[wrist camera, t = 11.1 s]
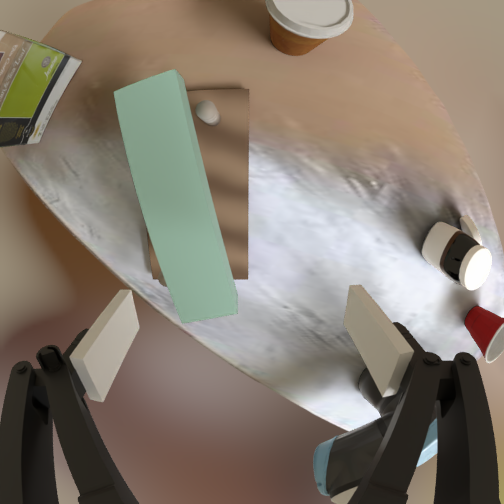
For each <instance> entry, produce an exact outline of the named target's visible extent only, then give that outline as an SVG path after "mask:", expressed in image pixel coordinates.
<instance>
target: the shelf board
mask: <svg viewBox="0 0 504 504" xmlns="http://www.w3.org/2000/svg"><path fill="white" fill-rule="evenodd" d="M114 97H115V103H116V108H117V114H118V119H119V123H120V128H121V133H122V137H123V142H124V146H125V150H126V155H127V159H128V163H129V167H130V171H131V174H132V178H133V182H134V186H135V189H136V193H137V196H138V200H139V203H140V207H141V210H142V213H143V217H144V220H145V223H146V226H147V229H148V232H149V236H150V239H151V242H152V245H153V248H154V251H155V253H156V256H157V259H158V262H159V265H160V268H161V271H162V273H163V276H164V279H165V281H166V284H167V287H168V289H169V292H170V295H171V297H172V300H173V302H174V305H175V307H176V310H177V312H178V315H179V317H180V320H181V322H182V324H183V323H189V322H195V321H201V320H206V319H212V318H217V317H222V316H228V315H233V314H238V294H237V290H236V287H235V283H234V279H233V276H232V272H231V269H230V265H229V261H228V258H227V254H226V250H225V246H224V243H223V239H222V235H221V231H220V228H219V224H218V220H217V216H216V212H215V208H214V204H213V200H212V197H211V193H210V189H209V185H208V181H207V177H206V173H205V169H204V165H203V160H202V156H201V152H200V148H199V144H198V140H197V136H196V131H195V127H194V123H193V118H192V114H191V110H190V105H189V101H188V97H187V92H186V88H185V83H184V79H183V78H182V77H181V76H180V74H179V73H178V72H177V71H176V69H173V70H170V71H167V72H164V73H161V74H158V75H155V76H152V77H149V78H147V79H144V80H141V81H139V82H136V83H134V84H131V85H129V86H126V87H124V88H121V89H119V90H117V91H114Z"/></svg>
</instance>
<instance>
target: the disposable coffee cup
mask: <svg viewBox="0 0 504 504" xmlns="http://www.w3.org/2000/svg"><path fill="white" fill-rule="evenodd" d="M265 2H266V7H267V9H268V11H269V16H270V38H271V41H272V43H273V45H274V46H275V47H276V48H277V49H278V50H279V51H281V52H283V53H285V54H288V55H292V56H299V55H304V54H306V53H308V52H309V51H311V50H312V49H314V48H315V47H317V46H318V45H320V44H321V43H322V42H324V41H326V40H327V39H329V38H331V37H335V36H338V35H340V34H342V33H344V32H345V31H346V30H347V29H348V28H349V27H350V25H351V24H352V21H353V4H352V1H351V0H265Z"/></svg>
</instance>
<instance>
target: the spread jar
mask: <svg viewBox="0 0 504 504" xmlns="http://www.w3.org/2000/svg"><path fill="white" fill-rule="evenodd" d="M460 225H461V229H462V231H461V230H459V229H457V228H455V227H453V226H451V225H449V224H447V223H444V222H437V223H435V224H434V225H433V226H432V227H431V229H430V230H429V231H428V233H427V235H426V237H425V239H424V241H423V245H422V251H421V252H422V255H423V257H424V259H425V260H426V261H427V262H428V263H429V264H430V265H432V266H433V267H434V268H436V269H437V270H439V271H440V272H441V273H443V274H444V275H445V276H446V277H448V278H449V279H451V280H452V281H454V282H455V283H456V284H459V285H463V286H464V287H465V288H467V289H468V290H475V289H477V288H479V287H480V286H481V285H482V284H483V282H484V281H485V280H486V278H487V276H488V274H489V271H490V268H491V263H492V258H491V253H490V251H489V250H488V249H487V248H485V247H483V246H482V241H481V237H480V235H479V232H478V230H477V228H476V226H475V224H474V222H473V221H472V220H471V218H470V217H469V216H468V215H465V216H463V217H461V218H460Z"/></svg>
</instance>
